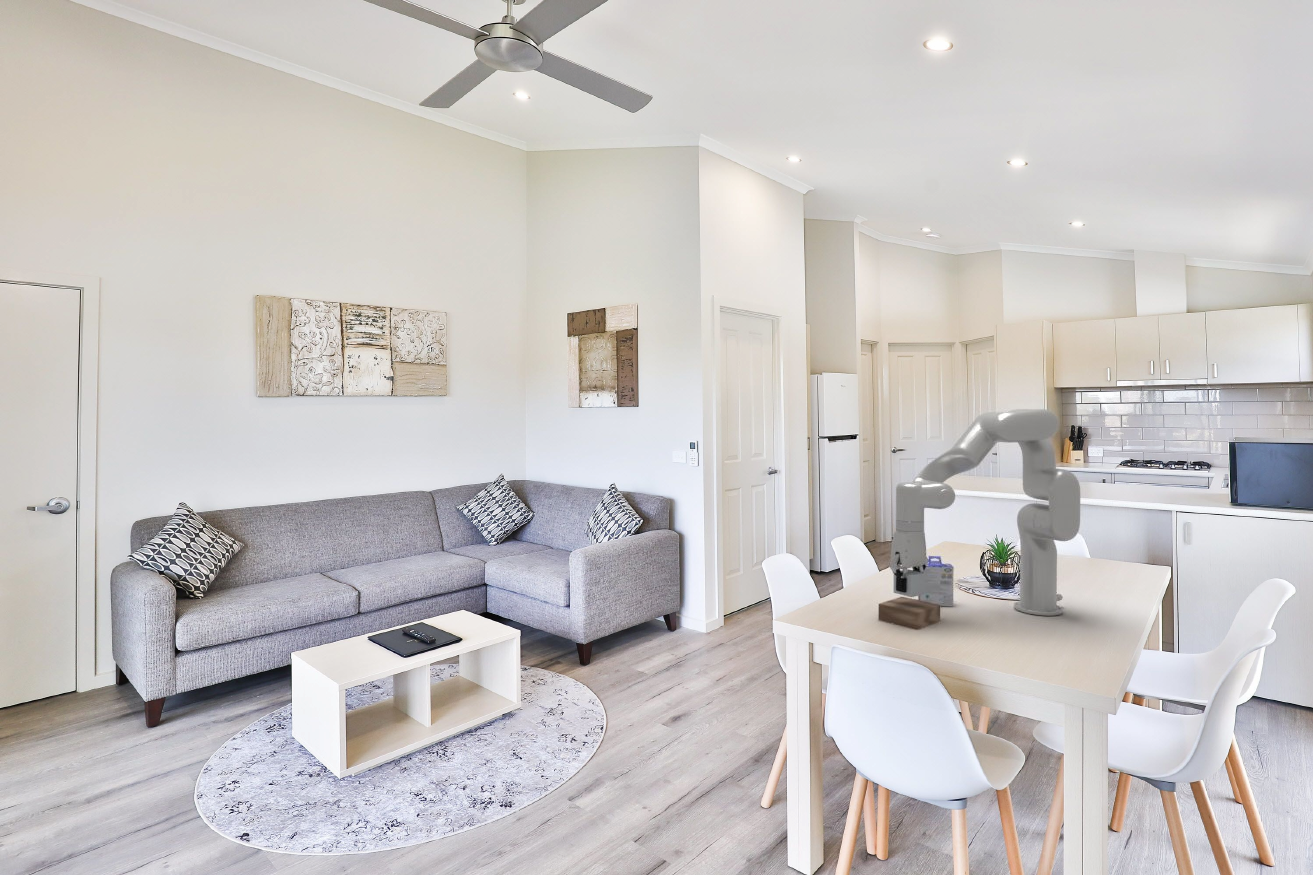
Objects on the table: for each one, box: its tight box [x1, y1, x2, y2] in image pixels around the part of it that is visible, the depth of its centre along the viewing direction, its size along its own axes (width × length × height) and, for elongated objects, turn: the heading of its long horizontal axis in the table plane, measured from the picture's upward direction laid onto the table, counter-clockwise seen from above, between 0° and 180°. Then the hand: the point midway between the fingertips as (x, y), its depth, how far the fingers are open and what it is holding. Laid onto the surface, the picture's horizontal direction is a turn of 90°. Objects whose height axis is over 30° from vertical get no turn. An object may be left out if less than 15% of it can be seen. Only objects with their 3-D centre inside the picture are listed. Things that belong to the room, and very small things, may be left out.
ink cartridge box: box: [917, 555, 955, 607], centre depth 215 cm, size 10×6×14 cm, turn 79°
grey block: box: [893, 568, 925, 598], centre depth 198 cm, size 6×6×6 cm
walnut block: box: [878, 596, 941, 631], centre depth 199 cm, size 12×12×5 cm
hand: (909, 589), depth 198 cm, fingers closed on grey block, 6 cm apart
